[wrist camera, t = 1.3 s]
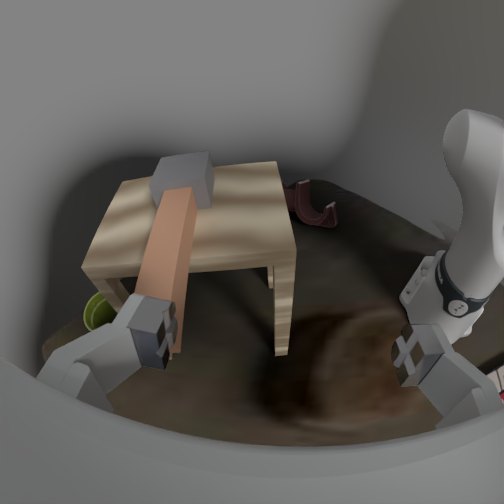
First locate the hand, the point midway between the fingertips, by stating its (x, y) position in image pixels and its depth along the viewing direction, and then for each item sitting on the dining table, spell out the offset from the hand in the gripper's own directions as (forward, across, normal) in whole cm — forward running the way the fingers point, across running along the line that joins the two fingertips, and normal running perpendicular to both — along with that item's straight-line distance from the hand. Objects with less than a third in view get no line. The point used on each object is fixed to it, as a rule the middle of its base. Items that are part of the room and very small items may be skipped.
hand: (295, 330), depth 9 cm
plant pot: (+26, +25, +33) cm, 49 cm away
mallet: (+17, +9, +6) cm, 20 cm away
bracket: (+57, -9, +17) cm, 60 cm away
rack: (+30, +6, +28) cm, 42 cm away
